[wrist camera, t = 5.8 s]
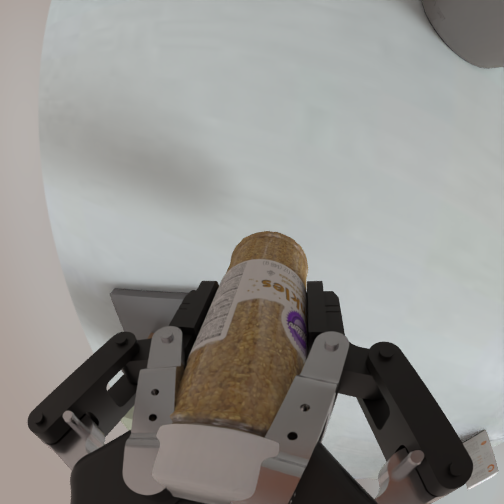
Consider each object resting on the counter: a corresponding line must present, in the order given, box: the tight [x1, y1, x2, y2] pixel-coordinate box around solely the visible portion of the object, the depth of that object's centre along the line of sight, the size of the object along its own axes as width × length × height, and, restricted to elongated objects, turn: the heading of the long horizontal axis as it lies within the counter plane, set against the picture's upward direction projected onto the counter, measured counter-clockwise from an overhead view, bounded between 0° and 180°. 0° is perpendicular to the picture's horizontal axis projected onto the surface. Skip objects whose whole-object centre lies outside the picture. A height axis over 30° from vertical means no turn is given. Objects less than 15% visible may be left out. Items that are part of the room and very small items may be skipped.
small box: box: [463, 430, 498, 490], centre depth 31 cm, size 8×6×13 cm
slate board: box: [110, 289, 188, 340], centre depth 28 cm, size 14×16×1 cm
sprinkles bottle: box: [152, 231, 308, 504], centre depth 11 cm, size 5×5×13 cm
